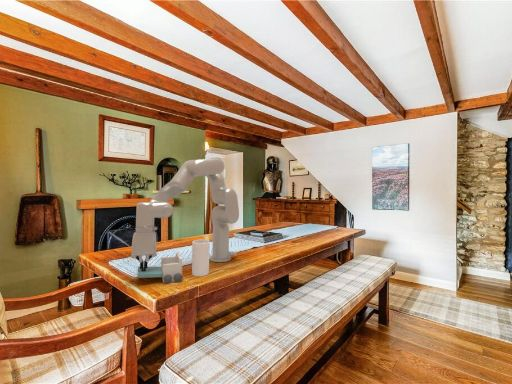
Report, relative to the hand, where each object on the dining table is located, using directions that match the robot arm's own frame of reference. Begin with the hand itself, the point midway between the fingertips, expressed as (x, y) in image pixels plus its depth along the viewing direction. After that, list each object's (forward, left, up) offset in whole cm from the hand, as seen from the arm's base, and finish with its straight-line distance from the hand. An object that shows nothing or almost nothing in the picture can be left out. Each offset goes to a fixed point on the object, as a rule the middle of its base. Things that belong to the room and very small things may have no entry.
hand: (143, 270), depth 115 cm
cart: (-12, 0, -5) cm, 13 cm away
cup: (-26, -1, -5) cm, 26 cm away
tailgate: (-8, 0, -1) cm, 8 cm away
